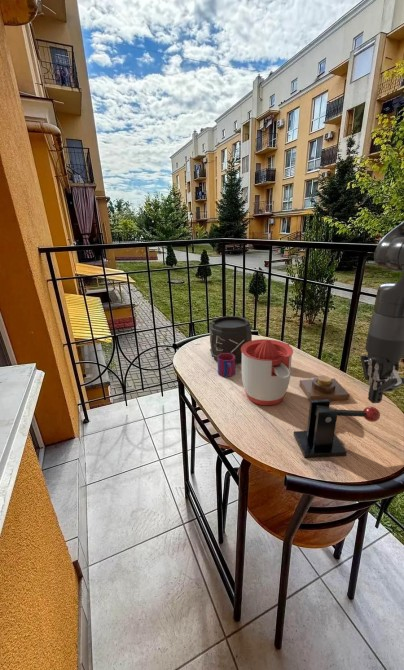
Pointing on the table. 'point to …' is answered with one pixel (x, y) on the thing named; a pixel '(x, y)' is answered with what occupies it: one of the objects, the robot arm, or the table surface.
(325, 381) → the button
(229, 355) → the mug
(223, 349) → the dark grey cylinder
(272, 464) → the table surface
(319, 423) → the black bracket
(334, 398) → the block
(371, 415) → the red-knob lever
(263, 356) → the citrus juicer
